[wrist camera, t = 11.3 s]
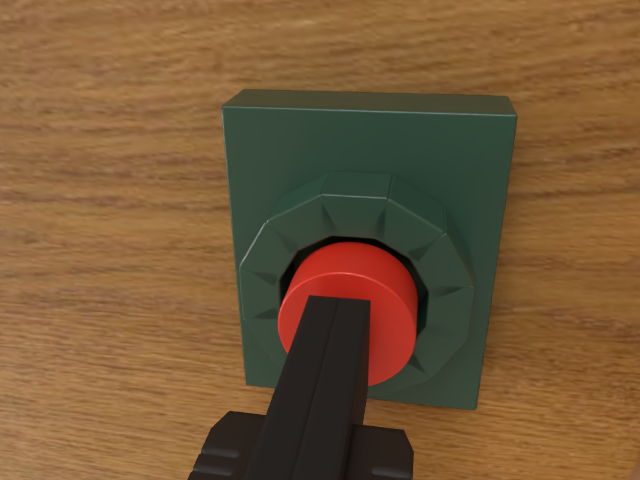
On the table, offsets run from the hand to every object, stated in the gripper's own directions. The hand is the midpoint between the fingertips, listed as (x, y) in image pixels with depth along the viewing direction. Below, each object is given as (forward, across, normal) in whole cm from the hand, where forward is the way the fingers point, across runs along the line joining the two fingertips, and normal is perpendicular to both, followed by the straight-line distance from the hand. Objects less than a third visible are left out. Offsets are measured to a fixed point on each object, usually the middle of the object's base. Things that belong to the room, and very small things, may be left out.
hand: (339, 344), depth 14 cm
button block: (+6, 0, 0) cm, 6 cm away
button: (+2, 0, 0) cm, 2 cm away
